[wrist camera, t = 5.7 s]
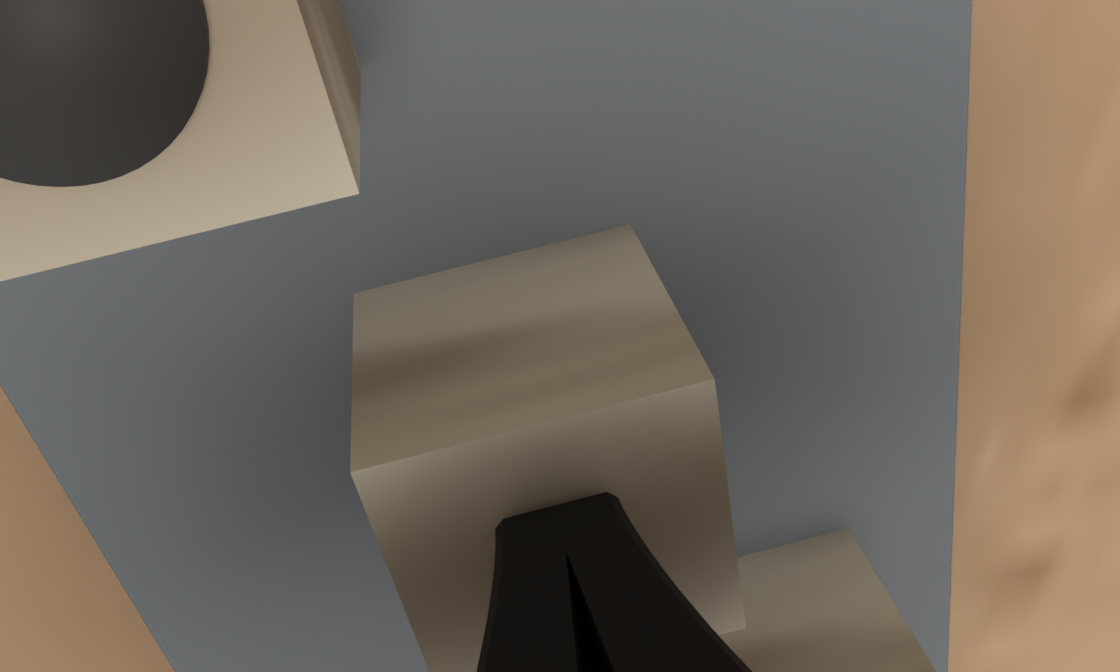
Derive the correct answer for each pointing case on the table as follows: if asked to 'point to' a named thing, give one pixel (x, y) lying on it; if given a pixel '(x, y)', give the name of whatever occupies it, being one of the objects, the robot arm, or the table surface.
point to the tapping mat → (517, 225)
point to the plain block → (534, 426)
